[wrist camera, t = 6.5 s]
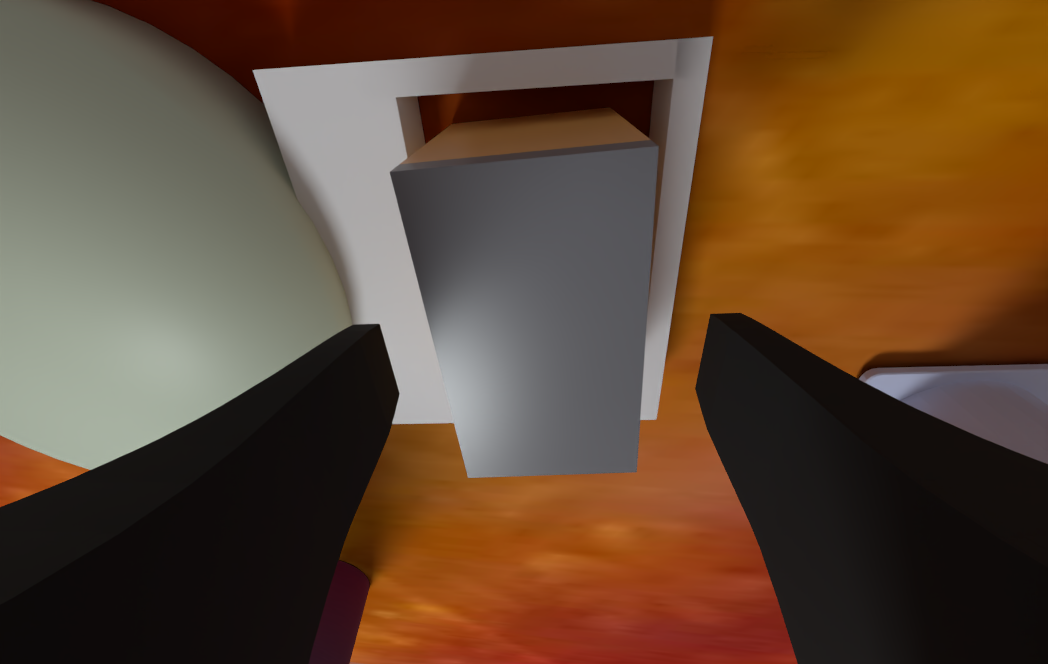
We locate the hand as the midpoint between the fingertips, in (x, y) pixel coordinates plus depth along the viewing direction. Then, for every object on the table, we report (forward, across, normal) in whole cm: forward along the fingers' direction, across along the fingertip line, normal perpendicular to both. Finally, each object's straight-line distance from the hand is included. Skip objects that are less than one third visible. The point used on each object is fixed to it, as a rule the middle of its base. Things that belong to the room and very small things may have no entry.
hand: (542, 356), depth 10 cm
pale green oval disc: (+6, +9, 0) cm, 11 cm away
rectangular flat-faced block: (+6, 0, 0) cm, 6 cm away
